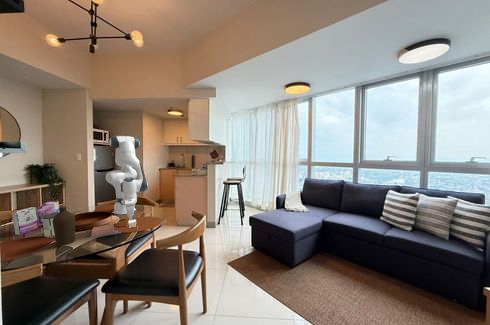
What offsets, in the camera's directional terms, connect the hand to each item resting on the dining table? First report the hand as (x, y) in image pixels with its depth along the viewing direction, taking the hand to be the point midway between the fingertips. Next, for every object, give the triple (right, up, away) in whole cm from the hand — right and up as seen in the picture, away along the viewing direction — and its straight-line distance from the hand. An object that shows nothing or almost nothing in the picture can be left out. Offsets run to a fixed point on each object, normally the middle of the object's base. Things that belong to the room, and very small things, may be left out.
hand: (130, 217), depth 152 cm
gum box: (-74, -7, +14) cm, 75 cm away
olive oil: (-30, -11, -21) cm, 38 cm away
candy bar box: (-71, -9, -6) cm, 72 cm away
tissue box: (-49, -9, -9) cm, 50 cm away
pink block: (-15, -8, -8) cm, 19 cm away
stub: (+1, -8, +1) cm, 8 cm away
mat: (-9, -9, -5) cm, 13 cm away
